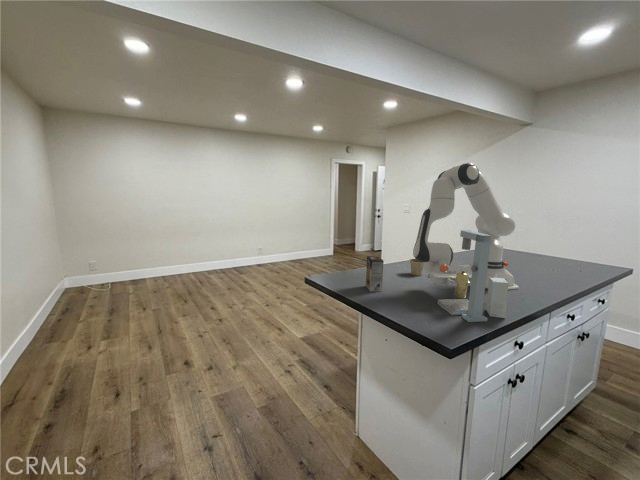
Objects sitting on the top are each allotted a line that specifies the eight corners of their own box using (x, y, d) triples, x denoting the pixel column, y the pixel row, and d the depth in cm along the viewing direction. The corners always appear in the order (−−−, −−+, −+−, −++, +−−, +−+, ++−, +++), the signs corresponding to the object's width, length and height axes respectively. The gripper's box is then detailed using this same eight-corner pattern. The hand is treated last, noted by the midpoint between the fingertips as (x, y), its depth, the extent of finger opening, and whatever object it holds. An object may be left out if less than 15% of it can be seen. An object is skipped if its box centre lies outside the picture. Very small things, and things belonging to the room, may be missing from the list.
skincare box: (505, 319, 120) (510, 283, 117) (488, 316, 122) (492, 281, 119) (500, 311, 127) (505, 277, 125) (484, 309, 129) (488, 276, 127)
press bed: (466, 303, 136) (466, 298, 135) (483, 314, 124) (484, 309, 124) (437, 303, 134) (437, 299, 134) (452, 315, 122) (452, 310, 122)
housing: (462, 293, 130) (465, 268, 128) (468, 297, 126) (471, 271, 124) (452, 294, 130) (455, 268, 128) (458, 297, 125) (461, 271, 123)
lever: (471, 270, 117) (472, 262, 117) (476, 273, 114) (477, 265, 113) (437, 271, 115) (438, 263, 115) (441, 273, 112) (442, 265, 112)
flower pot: (425, 277, 175) (426, 262, 173) (409, 275, 177) (410, 261, 175) (423, 272, 184) (424, 259, 182) (407, 271, 186) (408, 258, 184)
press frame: (465, 306, 132) (473, 230, 126) (487, 321, 117) (498, 235, 111) (448, 307, 131) (455, 230, 125) (468, 321, 116) (478, 235, 110)
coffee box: (365, 285, 157) (366, 255, 154) (377, 285, 158) (378, 255, 155) (369, 291, 148) (371, 260, 145) (382, 291, 149) (384, 260, 146)
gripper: (425, 268, 138) (440, 277, 124) (466, 268, 140) (485, 276, 127) (424, 281, 139) (438, 291, 125) (465, 281, 141) (484, 291, 128)
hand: (462, 284), depth 126 cm, fingers closed on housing, 5 cm apart
